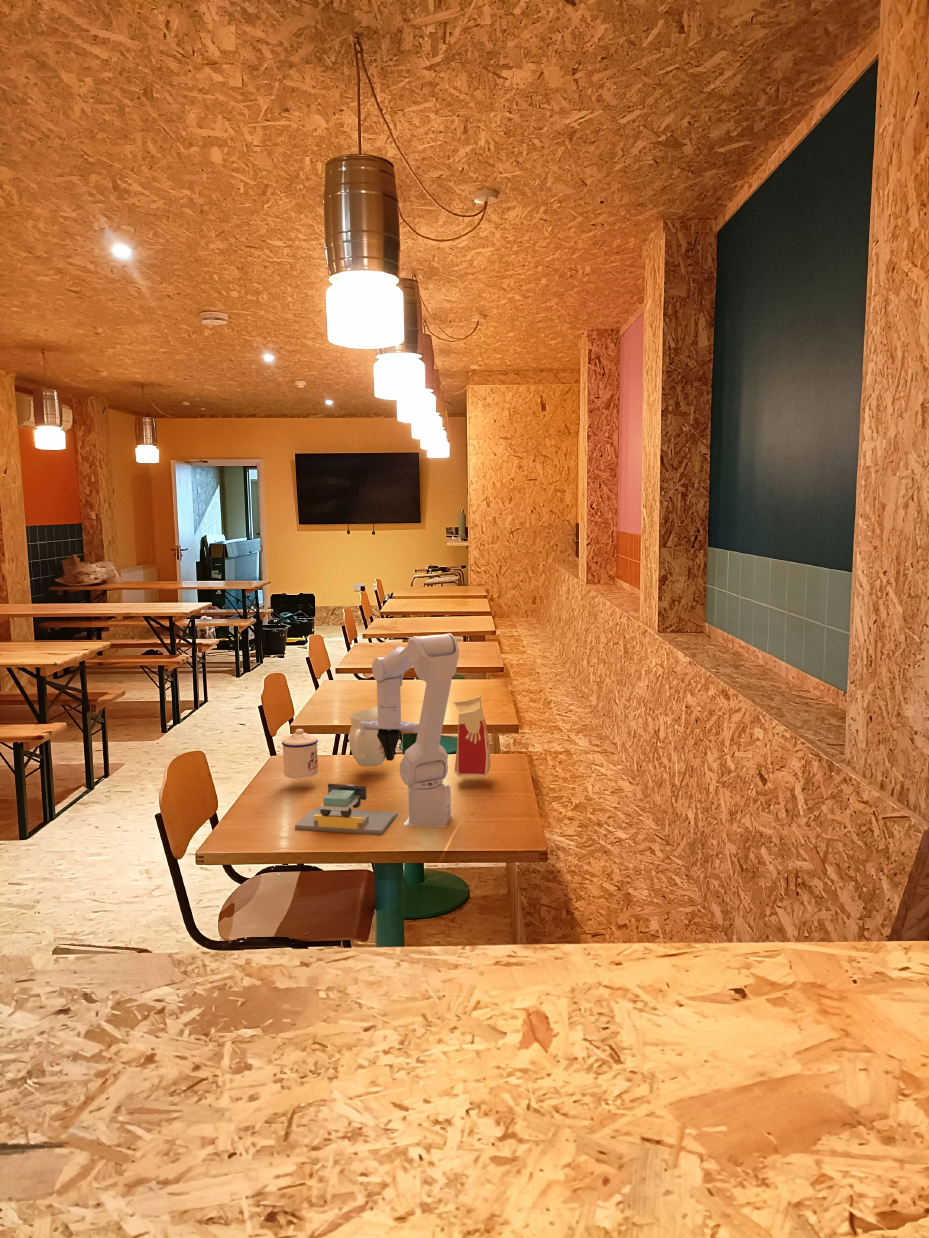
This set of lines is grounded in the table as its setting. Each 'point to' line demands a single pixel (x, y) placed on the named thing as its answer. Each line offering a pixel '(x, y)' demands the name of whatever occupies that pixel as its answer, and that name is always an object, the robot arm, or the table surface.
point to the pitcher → (365, 739)
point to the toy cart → (343, 798)
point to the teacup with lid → (300, 755)
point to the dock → (347, 822)
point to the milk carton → (472, 740)
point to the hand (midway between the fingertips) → (390, 759)
